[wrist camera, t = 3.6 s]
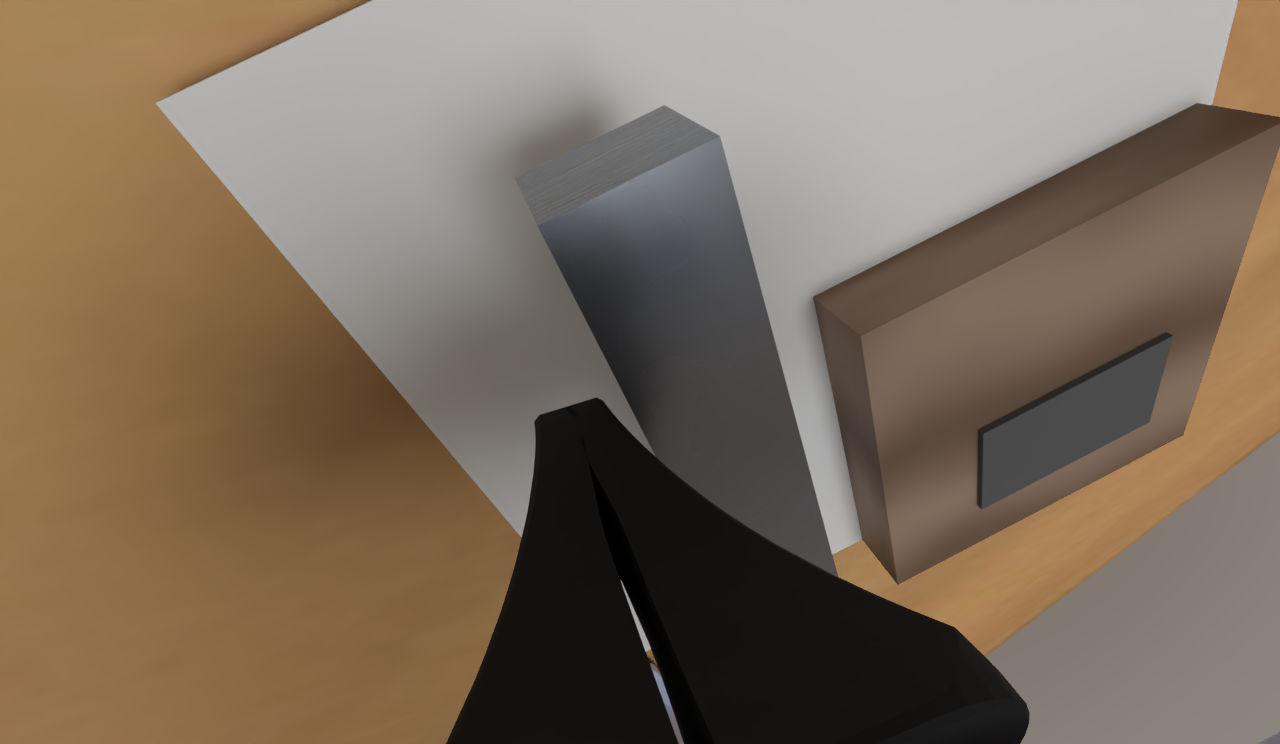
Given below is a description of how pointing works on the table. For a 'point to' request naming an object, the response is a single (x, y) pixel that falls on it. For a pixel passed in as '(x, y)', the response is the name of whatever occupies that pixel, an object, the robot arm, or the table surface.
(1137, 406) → the pad
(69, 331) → the table surface
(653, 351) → the bar
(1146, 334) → the door slab
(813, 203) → the plate
